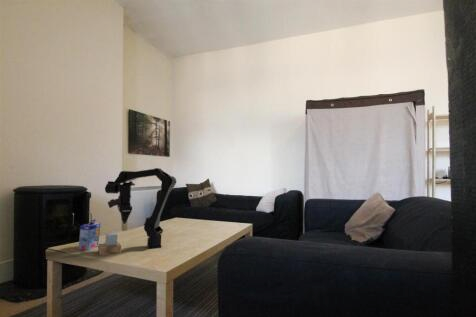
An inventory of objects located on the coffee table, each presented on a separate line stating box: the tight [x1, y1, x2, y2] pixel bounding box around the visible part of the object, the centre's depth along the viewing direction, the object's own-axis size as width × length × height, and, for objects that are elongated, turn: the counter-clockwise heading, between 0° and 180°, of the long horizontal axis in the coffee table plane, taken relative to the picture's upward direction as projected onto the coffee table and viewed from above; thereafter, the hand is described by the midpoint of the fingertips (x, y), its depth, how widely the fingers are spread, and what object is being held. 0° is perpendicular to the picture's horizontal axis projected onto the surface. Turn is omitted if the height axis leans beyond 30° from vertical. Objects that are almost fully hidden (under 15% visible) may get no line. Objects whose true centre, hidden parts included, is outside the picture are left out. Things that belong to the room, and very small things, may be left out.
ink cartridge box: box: [78, 219, 101, 251], centre depth 136 cm, size 10×6×14 cm, turn 178°
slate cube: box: [104, 232, 118, 246], centre depth 128 cm, size 5×5×5 cm
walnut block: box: [97, 241, 122, 257], centre depth 127 cm, size 9×9×4 cm
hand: (123, 222), depth 141 cm, fingers open, 9 cm apart
